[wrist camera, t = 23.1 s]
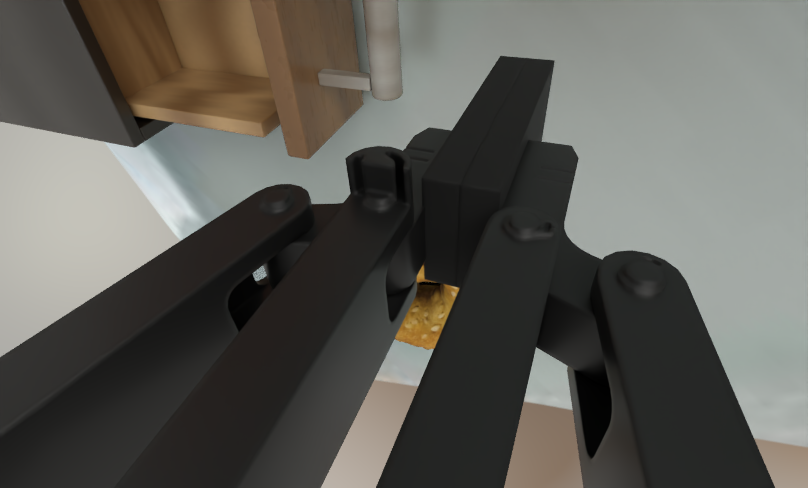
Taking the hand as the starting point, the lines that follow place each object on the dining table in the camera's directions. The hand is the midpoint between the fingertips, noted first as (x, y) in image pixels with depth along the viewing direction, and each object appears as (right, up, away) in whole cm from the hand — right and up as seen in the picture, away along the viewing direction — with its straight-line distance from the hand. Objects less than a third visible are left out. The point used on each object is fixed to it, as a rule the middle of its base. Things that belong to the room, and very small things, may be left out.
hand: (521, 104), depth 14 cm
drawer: (-10, +9, +11) cm, 17 cm away
